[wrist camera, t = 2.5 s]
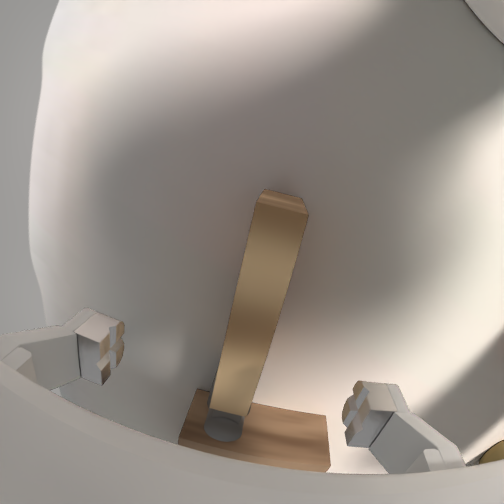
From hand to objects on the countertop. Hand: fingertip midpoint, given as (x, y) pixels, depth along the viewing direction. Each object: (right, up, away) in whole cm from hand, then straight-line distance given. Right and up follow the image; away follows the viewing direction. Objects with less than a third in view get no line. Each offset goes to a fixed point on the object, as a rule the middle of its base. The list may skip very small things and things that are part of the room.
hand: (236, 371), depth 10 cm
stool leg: (+1, 0, +12) cm, 12 cm away
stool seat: (+1, -12, +17) cm, 21 cm away
